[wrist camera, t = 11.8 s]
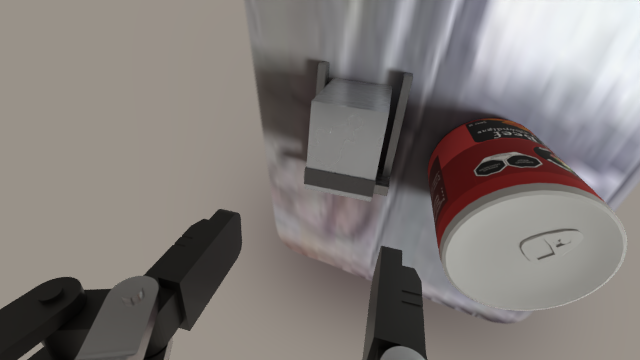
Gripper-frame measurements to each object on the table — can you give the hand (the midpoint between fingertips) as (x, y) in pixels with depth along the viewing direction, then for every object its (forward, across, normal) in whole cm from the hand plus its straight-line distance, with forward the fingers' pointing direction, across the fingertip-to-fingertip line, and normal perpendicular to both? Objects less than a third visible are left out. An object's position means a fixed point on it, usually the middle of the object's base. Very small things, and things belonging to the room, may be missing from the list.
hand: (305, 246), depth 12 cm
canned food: (+16, -10, +2) cm, 19 cm away
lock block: (+16, 0, 0) cm, 16 cm away
